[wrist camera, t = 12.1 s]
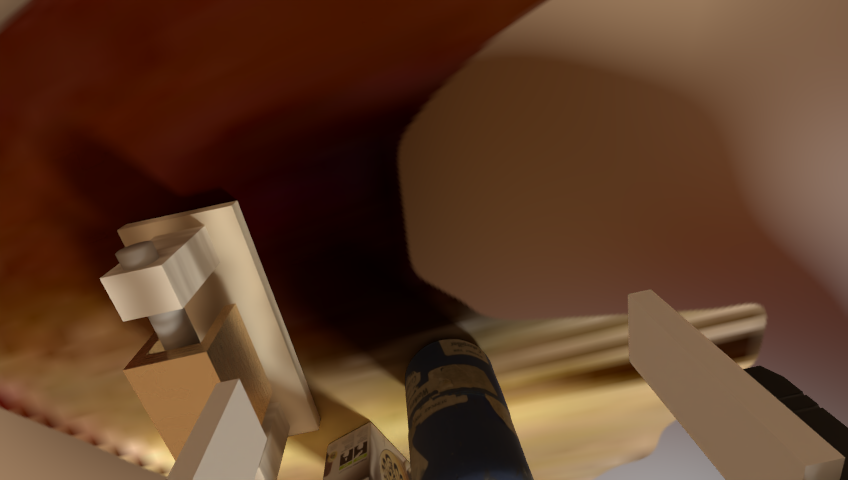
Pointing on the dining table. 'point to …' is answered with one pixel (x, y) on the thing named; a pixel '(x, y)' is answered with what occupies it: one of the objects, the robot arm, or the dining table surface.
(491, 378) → the canister
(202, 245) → the shaft rig
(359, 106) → the dining table surface
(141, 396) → the block
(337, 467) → the coffee box
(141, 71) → the dining table surface
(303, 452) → the dining table surface
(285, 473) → the dining table surface
